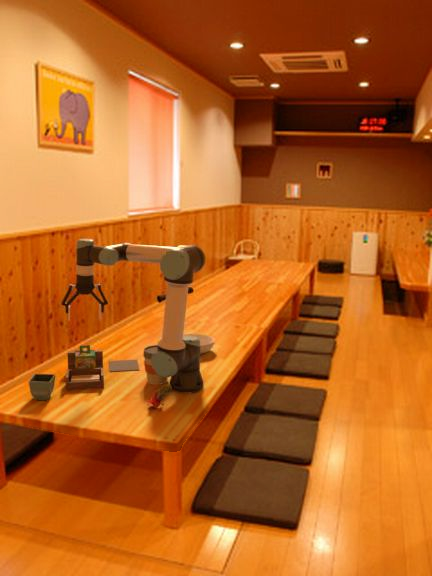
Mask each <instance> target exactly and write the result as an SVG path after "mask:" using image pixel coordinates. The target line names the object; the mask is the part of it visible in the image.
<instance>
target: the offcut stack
mask: <svg viewBox="0 0 432 576" xmlns="http://www.w3.org/2000/svg"><path fill="white" fill-rule="evenodd" d="M94 380H100V377H99V374H98V375H79V376H72V378H71V379H70V382H77V381H94Z"/></svg>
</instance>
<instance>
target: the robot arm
mask: <svg viewBox="0 0 432 576" xmlns="http://www.w3.org/2000/svg"><path fill="white" fill-rule="evenodd" d="M75 250H76V253H75V255H76V266H75V267H76V269H75V270H76V271H75V272H76V274H75V275H76V277H75V279H76V281H75V282H76V283H75V284H72V283H70V284H68V289H67V291H66V293H65V295H64V297H63V299H62V300H61V304H60V305H62V306H64V307H65V314H67V320H68V322H70V321H71V304H72V303H73V302H74V301H75V299H76V298H78V296H79V295H81V296H84V295H87V296H89V295H91V296H92V297H93V298H94V299H95V300H96V301H97V303H99V305H98V321H102V313H104V309H105V306H106V305H108V304H109V301H107V298H106V296H105V295H104V292H103V290H102V286H101V284H100V283H98V284H95V283H94V282H95V281H94V279H95V278H94V277H95V276H94V275H95V274H94V273H95V268H94V267H95V264H98V265H103V266H114V265H116V263H118V262H123V261H125V262H137V263H147V264H149V263H150V264H159V267H160V272H162V276H163V281H164V282H165V283H166V286H167V287H166V292H165V295H166V300H165V301H164V302H165V305H164V311H163V312H164V313H163V324H162V325H163V326H162V332H161V335H162V336H161V339H159V341H157V344H156V345H157V352H155V353H154V354H153V355H152V357H151V365H152V368H153V370H155V372H156V373H157V374H158V375H159V376H161V377H168V378H170V380H169V385H171V388H172V389H171V391H174V392H175V393H180V394H181V393H182V394H193V393H197V392H200V391H201V390H202V389H203V390H204V379H203V377H202V372H201V354H200V347H201V346H200V340H199V339H198V338H197V337H193V336H184V329H185V321H186V310H187V303H188V287H190V286H191V285H192V284H193V282H194V276H195V274H196V273H198V272H200V271H201V270H202V269H203V268H204V266H205V265H206V260H207V259H206V254H205V252H204V250H203V249H202V248H201V247H199V246H198V245H194V244H189V245H182V244H181V245H178V246H177V247H176V246H175V247H174V246H159V245H148V244H133V243H132V244H131V243H129V242H122V243H121V242H120V243H117V244H112V245H105V246H100V245H96V244H95V240H94V239H92V238H79V239H78V240H76V248H75ZM74 289H76V291H75V292H74V293H73V295H72V296H70V295H71V293H72V291H73V290H74ZM95 289H96V290H98V292H99V295H100V296H101V298H102V299H101V298H100V297H99V296H98V295H97V294H96V293H95V292H94V290H95ZM69 296H70V298H69ZM102 300H103V301H102Z"/></svg>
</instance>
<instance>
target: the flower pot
mask: <svg viewBox="0 0 432 576" xmlns="http://www.w3.org/2000/svg"><path fill="white" fill-rule="evenodd" d="M55 383H56V374H54V373H52V374H51V373H34V374H33V376H32V377H31V378H30V379H29V381H28V385H29V391H30V395H31V397H33V399H34V400H35V401H39V400H40V401H47V400H49V398H50V397H51V395H52V393H53V391H54V389H55Z"/></svg>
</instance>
